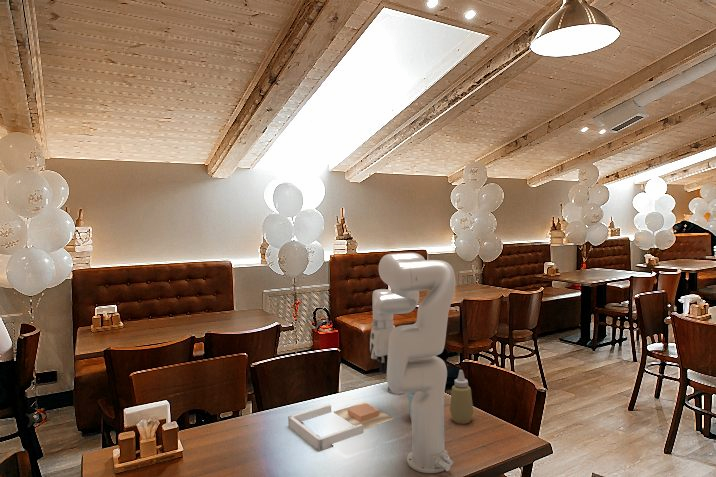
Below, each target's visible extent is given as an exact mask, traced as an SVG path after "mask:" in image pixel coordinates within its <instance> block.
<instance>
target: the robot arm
mask: <svg viewBox="0 0 716 477" xmlns="http://www.w3.org/2000/svg"><path fill="white" fill-rule="evenodd" d="M378 275H379V277H380V279H381V280H382V281H383V283H384V284H386V285H387V286H388V287H389V288H390V289H386V288H380V289H375V290H373V291H372V297H371V298H372V322H371V323H370V326H371V330H370V337H369V351H370V353H371V355H370V358H371V359H372V360H377V362H378V364H379V365H378V366H379V372H380V373H383V374H386V382H387V387H388V386H389V388H390V390H391V391H392V392H394V393H396V395H402V394H407V393H411V392H415V394H414V397H413V399H412V404H411V417H410V420H411V451H410V452H409V453H408V454H407V456H406V461H407V462H406V463H407V465H408V466H409V467H410V468H411V469H412V470H414V471H415V472H416V471H417V472H419V473H424V474H436V473H437V474H438V473H440V472H441V473H442V472H444V471H446V472H449V471H450V470H451V466H452V465H453V464H454V460H453V459H451V458H450V456H449V454H448V451H447V450H446V449H445V390H446V384H447V378H448V370H447V365H446V363H445V360H443V359H442V358H441V357H439V356H438V355H441V354H443V352H444V349H445V345H446V337H447V328H448V320H449V318H448V317H449V312H450V309H451V304H452V302H453V299H454V296H455V292H456V291H455V290H456V286H457V282H456V274H455V270H454V268H453V266H452V265H451V264H450V263H449V262H447V261H445V260H439V259H425V257H424V256H423V255H421V254H419V253H417V252H399V253H388V254H385V255H383V256H382V257H381V259H380V260H379V263H378ZM422 291H429V292H428V293H427V295H426V296H425V297H423V299H422V301H420V303H419V300H420V292H422ZM418 304H419V306H418ZM417 306H418V308H417V314H416V321H415V322H414V323H413V324H412V323H411V324H403V325H398V326H395V325H394V315H399V314H400V315H401V314H409V313H411V312H413V311H414V310H415V309H416V307H417ZM394 393H393V394H394Z"/></svg>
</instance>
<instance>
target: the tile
mask: <svg viewBox="0 0 716 477" xmlns="http://www.w3.org/2000/svg"><path fill="white" fill-rule="evenodd" d="M366 403H367V402H365V404H362V405H359V406H356V407H353V408H349V409H348V415H350V416H351V417H353V418H354V419H356V420H358V421H359V422H363V421H366V420H369V419H372V418H375V417H378V416H379V410H380V409H378V408H376V407H374V406H372V405H370V404H369V403H367V404H366ZM368 404H369V405H368ZM371 406H372V407H371ZM373 407H374V408H373ZM375 408H376V409H375ZM377 409H378V410H377Z"/></svg>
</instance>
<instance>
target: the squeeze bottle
mask: <svg viewBox="0 0 716 477" xmlns="http://www.w3.org/2000/svg"><path fill="white" fill-rule="evenodd" d="M450 394H451V396H450V406H449V411H450V415H451V417H452V421H454V423H457V424H460V425H462V424H463V425H464V424H469V423H470V422H471V420H472V416H473V414H474V403H473V399H472V398H473V397H472V389H471V387H470V386H469V381H468V379H467V378H465V373H464V371H463V369H459V371H458V375H457V378H456V379H454V385H452V386H451V393H450Z"/></svg>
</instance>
